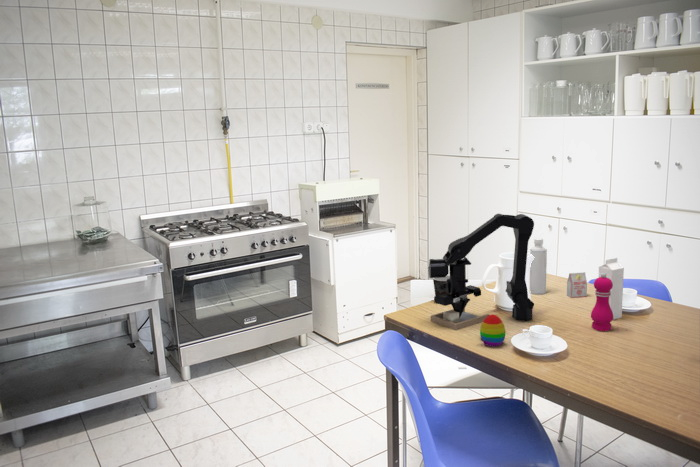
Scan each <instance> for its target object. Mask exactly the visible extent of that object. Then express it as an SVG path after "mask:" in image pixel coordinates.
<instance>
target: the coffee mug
mask: <svg viewBox="0 0 700 467" xmlns="http://www.w3.org/2000/svg"><path fill="white" fill-rule="evenodd" d="M449 278H450V275H447V276H446V277H443V278H432V281H433V289H434V296H435V295H438V294H441V293H440V291H436V288H435V283H437V282H442V283H446V282H447V279H449ZM442 293H444V294H447V295H450V293H446V291H444V292H442Z"/></svg>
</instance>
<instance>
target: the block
mask: <svg viewBox="0 0 700 467" xmlns="http://www.w3.org/2000/svg"><path fill="white" fill-rule="evenodd" d="M445 311H446V312H445ZM445 311H442V312H443V319H444V320H447V321H450V322H453V323H459V312H456V311H453V310H452V309H449V310H445Z"/></svg>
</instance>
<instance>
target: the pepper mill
mask: <svg viewBox="0 0 700 467" xmlns="http://www.w3.org/2000/svg"><path fill="white" fill-rule="evenodd" d="M593 287H594V289H595V290H594V291H595V292H594V294H595V296H596V300H595V304H594V306H593V308H592V310H591V312H590V319H591V320H592V322H591V328H592V330H595V331H598V332H609V331H611V330H612V323H611V322H613V321H614V320H613V312H612V310H611V308H610V305H609V296H611V291H610V290H611V289H612V287H613V283H612V281H611V280H610V279H609V278H607V277H606V274H605V273H602V274H601V277H599V276H598V277H596V279H595V280H594V281H593Z"/></svg>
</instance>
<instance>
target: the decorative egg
mask: <svg viewBox="0 0 700 467" xmlns="http://www.w3.org/2000/svg"><path fill="white" fill-rule="evenodd" d="M479 336H480V339H481V340H482V341H483V344H484V345H486V346H489V347H499V346H501V345H502V344H503V343H504V341H505V338H506V327H505V325H504V322H503V320H502V318H500V317H499V316H498V315H497V314H489V316H487V317H486V318H485V319H484V321H483V322H481V325H480V330H479Z"/></svg>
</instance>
